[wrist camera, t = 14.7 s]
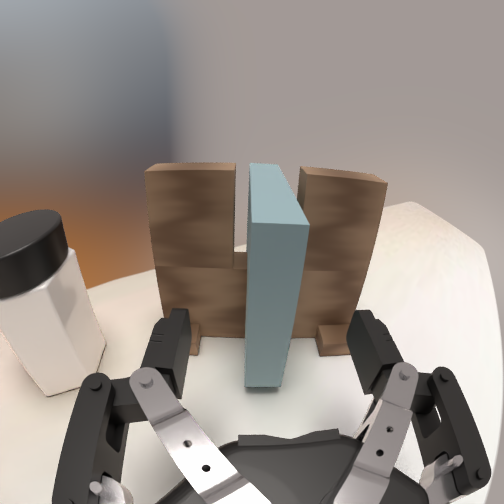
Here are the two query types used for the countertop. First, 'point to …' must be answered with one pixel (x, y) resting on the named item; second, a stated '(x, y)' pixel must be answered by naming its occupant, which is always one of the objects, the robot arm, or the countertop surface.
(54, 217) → the jar
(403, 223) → the countertop surface
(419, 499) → the robot arm
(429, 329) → the countertop surface
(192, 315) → the brown wooden u-shaped piece
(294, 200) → the teal rectangular panel
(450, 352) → the countertop surface
